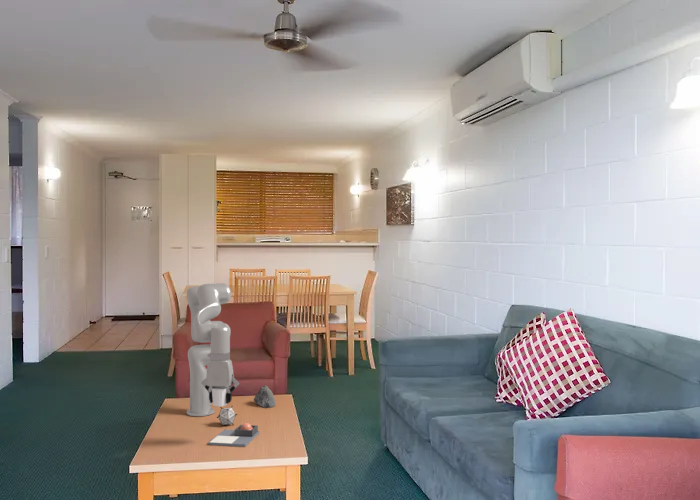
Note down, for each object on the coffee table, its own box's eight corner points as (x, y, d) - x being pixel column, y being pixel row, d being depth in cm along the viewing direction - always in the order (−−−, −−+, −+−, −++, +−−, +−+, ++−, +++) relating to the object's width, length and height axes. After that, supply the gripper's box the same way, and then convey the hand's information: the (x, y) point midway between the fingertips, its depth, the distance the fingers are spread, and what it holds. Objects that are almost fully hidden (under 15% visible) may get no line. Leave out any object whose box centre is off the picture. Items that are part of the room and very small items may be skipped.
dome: (242, 431, 267) (242, 421, 267) (254, 432, 266) (254, 421, 266) (238, 435, 262) (238, 424, 262) (250, 435, 261) (250, 425, 261)
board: (224, 431, 270) (224, 423, 270) (259, 433, 268) (259, 425, 268) (208, 445, 252) (208, 436, 252) (245, 446, 250) (245, 437, 250)
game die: (229, 434, 279) (231, 419, 273) (212, 426, 280) (213, 411, 275) (239, 420, 286) (241, 405, 280) (222, 412, 288) (224, 397, 282)
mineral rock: (253, 402, 321) (253, 382, 321) (275, 401, 323) (275, 381, 323) (253, 408, 308) (253, 387, 308) (276, 408, 310) (276, 387, 310)
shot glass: (213, 407, 252) (213, 389, 252) (209, 403, 258) (209, 386, 258) (230, 405, 255) (230, 388, 255) (226, 401, 261) (226, 384, 261)
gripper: (195, 358, 254) (195, 403, 254) (237, 359, 251) (237, 405, 251) (203, 354, 262) (203, 399, 262) (244, 356, 259) (244, 401, 259)
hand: (220, 401), depth 257 cm, fingers closed on shot glass, 6 cm apart
